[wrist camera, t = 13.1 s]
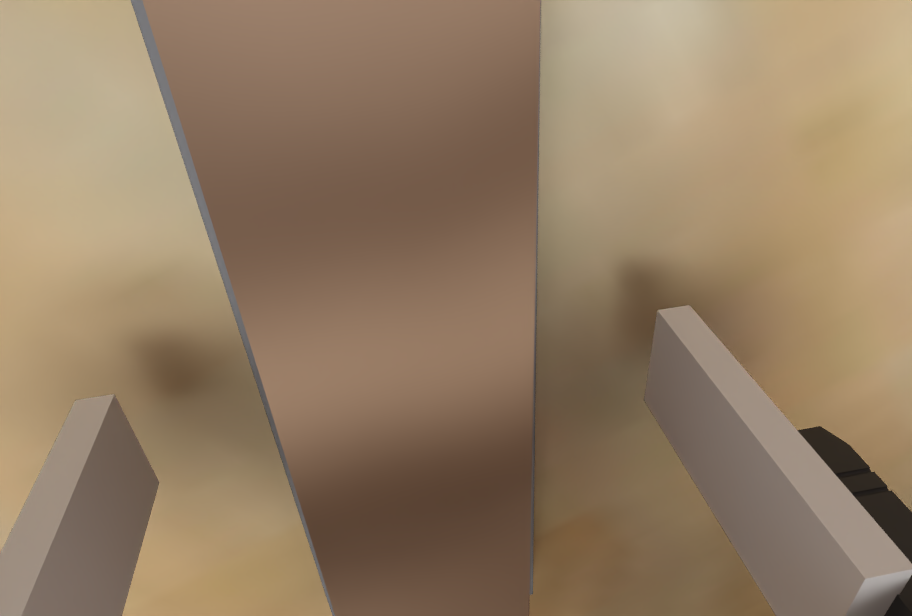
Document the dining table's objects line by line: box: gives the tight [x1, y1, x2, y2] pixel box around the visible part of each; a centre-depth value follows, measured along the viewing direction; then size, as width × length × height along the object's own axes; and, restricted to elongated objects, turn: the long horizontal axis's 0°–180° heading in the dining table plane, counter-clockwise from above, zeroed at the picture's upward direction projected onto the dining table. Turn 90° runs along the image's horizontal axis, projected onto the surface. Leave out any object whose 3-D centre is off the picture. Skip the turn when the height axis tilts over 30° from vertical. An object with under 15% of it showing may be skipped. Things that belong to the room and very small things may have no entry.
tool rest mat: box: [131, 0, 541, 616], centre depth 16 cm, size 24×7×1 cm, turn 3°
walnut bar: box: [142, 0, 540, 616], centre depth 13 cm, size 20×4×5 cm, turn 3°
